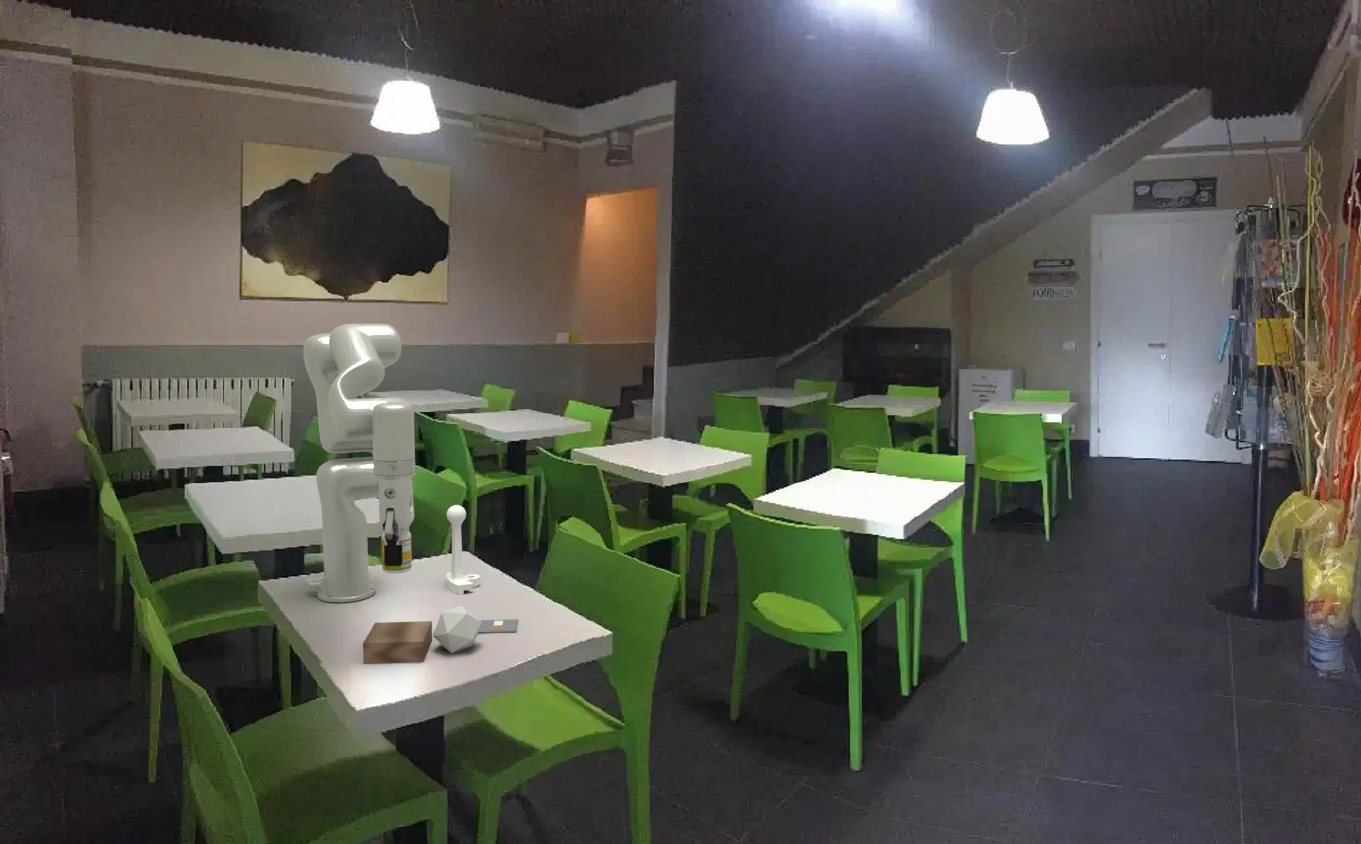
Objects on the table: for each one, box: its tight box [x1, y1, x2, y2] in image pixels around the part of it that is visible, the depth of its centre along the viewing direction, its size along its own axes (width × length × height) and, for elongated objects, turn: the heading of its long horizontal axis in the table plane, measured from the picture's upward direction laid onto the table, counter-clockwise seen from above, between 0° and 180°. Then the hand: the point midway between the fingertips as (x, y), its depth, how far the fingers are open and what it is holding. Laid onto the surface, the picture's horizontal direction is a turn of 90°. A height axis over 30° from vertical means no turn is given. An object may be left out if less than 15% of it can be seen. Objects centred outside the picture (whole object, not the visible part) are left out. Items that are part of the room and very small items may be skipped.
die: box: [432, 605, 482, 654], centre depth 176 cm, size 8×9×10 cm
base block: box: [362, 620, 433, 665], centre depth 174 cm, size 11×11×4 cm
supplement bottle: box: [381, 526, 413, 575], centre depth 172 cm, size 5×5×10 cm
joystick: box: [445, 504, 481, 596], centre depth 214 cm, size 11×8×20 cm
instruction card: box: [477, 618, 519, 635], centre depth 189 cm, size 8×7×1 cm
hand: (396, 559), depth 172 cm, fingers closed on supplement bottle, 5 cm apart
